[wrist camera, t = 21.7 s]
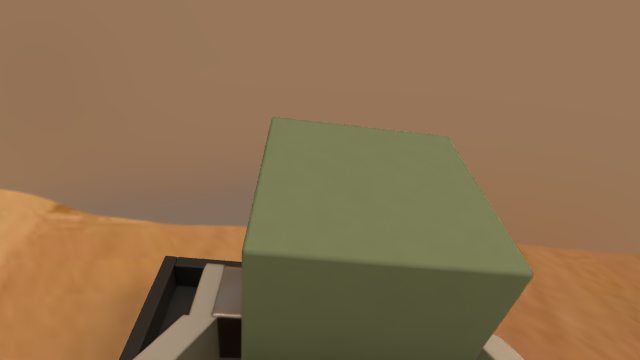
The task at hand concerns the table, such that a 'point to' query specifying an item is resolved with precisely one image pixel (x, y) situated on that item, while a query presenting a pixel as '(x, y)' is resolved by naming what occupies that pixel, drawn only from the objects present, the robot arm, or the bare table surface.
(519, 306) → the table surface
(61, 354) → the table surface
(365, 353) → the tall green rectangular block
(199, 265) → the black tray
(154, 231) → the table surface
